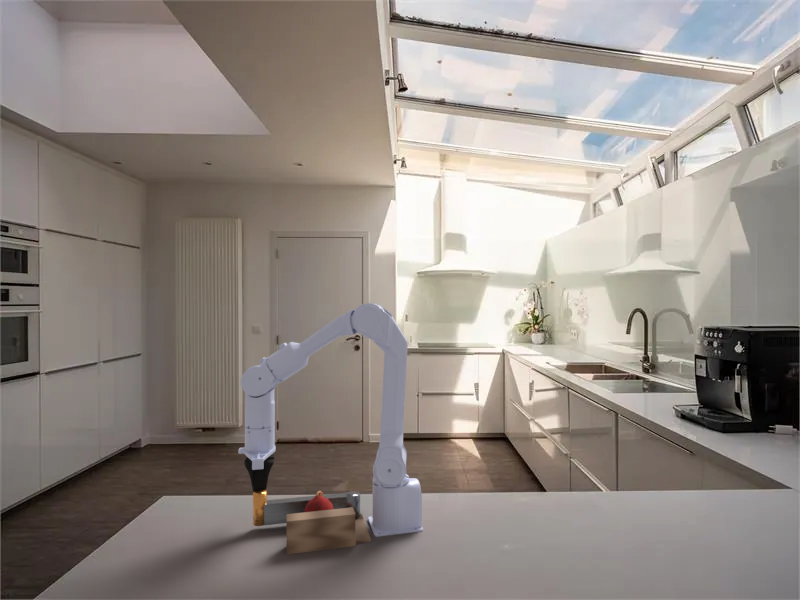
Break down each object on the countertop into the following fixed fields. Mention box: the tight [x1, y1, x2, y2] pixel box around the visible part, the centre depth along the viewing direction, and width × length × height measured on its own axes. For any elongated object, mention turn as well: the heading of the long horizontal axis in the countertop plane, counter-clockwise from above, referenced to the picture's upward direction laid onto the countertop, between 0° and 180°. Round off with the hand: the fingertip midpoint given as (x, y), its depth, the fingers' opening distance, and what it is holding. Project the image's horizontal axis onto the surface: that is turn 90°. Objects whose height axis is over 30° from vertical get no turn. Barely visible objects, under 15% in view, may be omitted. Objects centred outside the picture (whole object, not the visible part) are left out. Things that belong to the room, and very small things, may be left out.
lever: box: [252, 489, 361, 527], centre depth 95 cm, size 21×3×6 cm, turn 103°
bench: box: [286, 507, 372, 555], centre depth 91 cm, size 15×13×6 cm
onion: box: [304, 490, 334, 512], centre depth 91 cm, size 6×6×8 cm
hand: (259, 494), depth 95 cm, fingers closed
